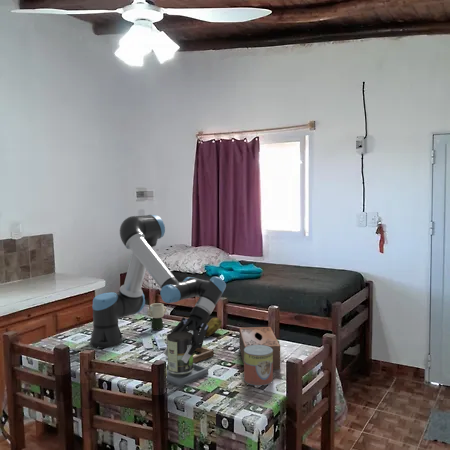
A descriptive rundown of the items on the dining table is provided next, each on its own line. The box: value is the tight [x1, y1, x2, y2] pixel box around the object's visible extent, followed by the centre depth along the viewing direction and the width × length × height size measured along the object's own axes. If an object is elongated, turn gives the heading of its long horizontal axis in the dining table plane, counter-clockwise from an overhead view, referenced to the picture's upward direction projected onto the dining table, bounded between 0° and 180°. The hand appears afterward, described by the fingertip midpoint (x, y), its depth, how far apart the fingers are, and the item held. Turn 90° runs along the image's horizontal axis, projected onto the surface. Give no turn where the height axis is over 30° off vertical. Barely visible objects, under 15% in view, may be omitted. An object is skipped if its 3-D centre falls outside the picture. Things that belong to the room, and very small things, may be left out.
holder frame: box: [193, 346, 215, 364], centre depth 209 cm, size 14×14×2 cm
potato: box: [205, 317, 223, 338], centre depth 239 cm, size 8×13×8 cm, turn 128°
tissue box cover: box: [238, 326, 281, 370], centre depth 206 cm, size 26×14×10 cm, turn 3°
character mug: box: [147, 302, 167, 330], centre depth 249 cm, size 11×7×13 cm, turn 126°
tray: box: [166, 363, 209, 388], centre depth 189 cm, size 16×16×2 cm
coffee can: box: [166, 331, 194, 374], centre depth 188 cm, size 10×10×14 cm
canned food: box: [243, 345, 274, 387], centre depth 183 cm, size 11×11×12 cm
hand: (174, 358), depth 186 cm, fingers closed on coffee can, 10 cm apart
